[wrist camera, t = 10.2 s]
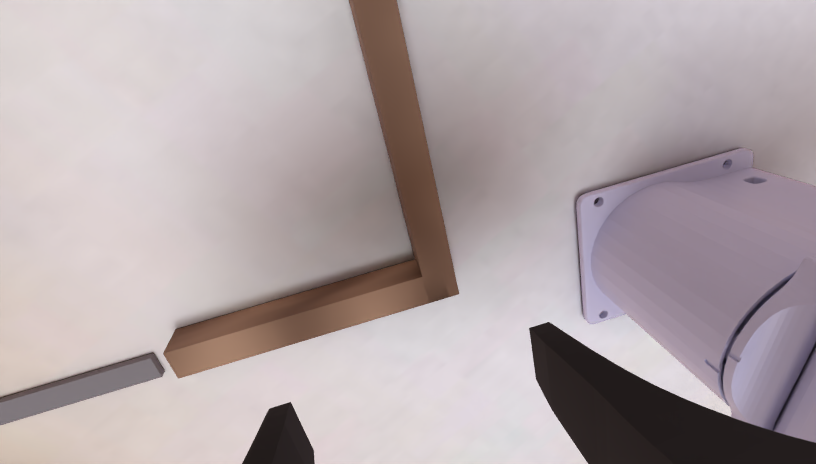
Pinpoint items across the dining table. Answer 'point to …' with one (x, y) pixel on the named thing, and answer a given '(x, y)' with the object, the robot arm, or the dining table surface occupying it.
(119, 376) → the grey open frame
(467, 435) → the dining table surface
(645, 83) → the dining table surface
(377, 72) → the walnut holder
